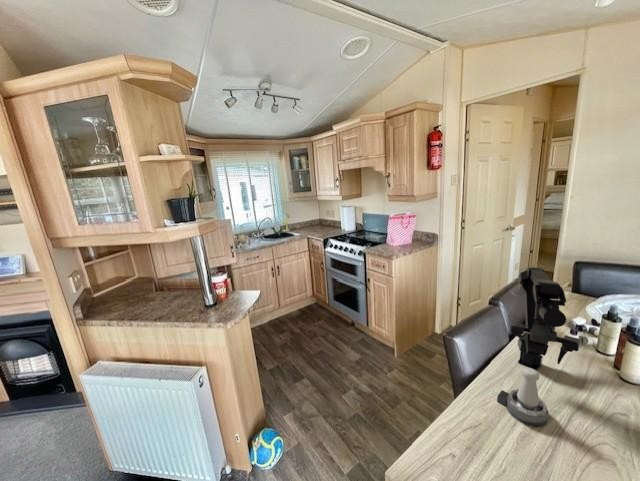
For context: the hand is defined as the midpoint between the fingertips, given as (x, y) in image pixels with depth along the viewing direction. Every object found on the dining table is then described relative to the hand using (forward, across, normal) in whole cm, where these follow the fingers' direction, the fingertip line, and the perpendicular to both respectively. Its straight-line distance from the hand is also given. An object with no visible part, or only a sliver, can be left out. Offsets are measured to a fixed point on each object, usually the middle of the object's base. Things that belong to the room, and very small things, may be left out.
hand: (541, 358), depth 96 cm
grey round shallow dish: (+14, -2, -14) cm, 20 cm away
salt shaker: (+12, 0, -14) cm, 18 cm away
